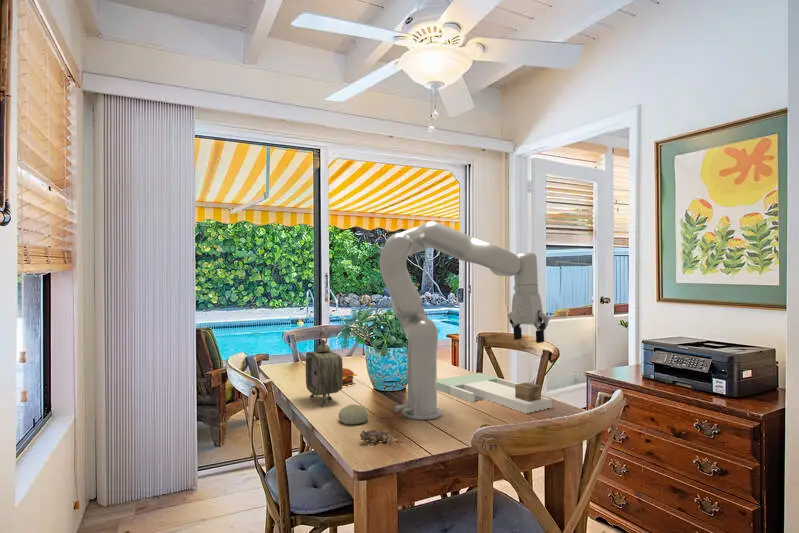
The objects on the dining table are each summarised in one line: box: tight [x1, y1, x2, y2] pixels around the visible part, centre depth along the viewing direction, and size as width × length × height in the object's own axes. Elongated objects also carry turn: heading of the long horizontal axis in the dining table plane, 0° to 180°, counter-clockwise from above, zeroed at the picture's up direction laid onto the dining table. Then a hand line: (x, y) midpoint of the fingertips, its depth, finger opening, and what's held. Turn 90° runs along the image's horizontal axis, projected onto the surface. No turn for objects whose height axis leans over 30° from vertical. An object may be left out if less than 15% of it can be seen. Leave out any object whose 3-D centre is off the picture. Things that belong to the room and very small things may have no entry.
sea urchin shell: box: [337, 404, 369, 426], centre depth 153 cm, size 9×8×8 cm
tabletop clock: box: [305, 331, 344, 407], centre depth 175 cm, size 14×9×25 cm, turn 29°
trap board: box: [437, 372, 553, 414], centre depth 182 cm, size 25×44×3 cm, turn 32°
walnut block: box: [515, 381, 542, 402], centre depth 168 cm, size 6×6×4 cm
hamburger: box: [342, 367, 358, 386], centre depth 200 cm, size 9×10×7 cm
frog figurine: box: [359, 429, 393, 447], centre depth 136 cm, size 12×12×4 cm
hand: (528, 340), depth 164 cm, fingers open, 9 cm apart
